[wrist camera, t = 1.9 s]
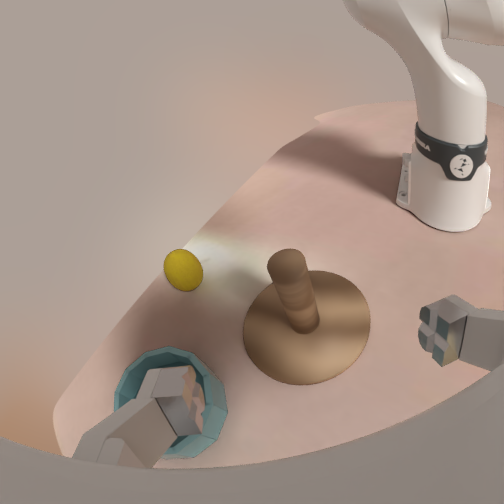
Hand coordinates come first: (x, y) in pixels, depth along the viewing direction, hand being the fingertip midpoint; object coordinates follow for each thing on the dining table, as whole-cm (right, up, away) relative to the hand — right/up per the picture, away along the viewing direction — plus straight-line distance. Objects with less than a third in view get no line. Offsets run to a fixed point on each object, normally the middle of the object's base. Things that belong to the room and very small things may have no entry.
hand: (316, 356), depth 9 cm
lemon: (-11, -2, +36) cm, 38 cm away
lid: (+5, -6, +25) cm, 26 cm away
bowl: (-12, -16, +22) cm, 30 cm away
